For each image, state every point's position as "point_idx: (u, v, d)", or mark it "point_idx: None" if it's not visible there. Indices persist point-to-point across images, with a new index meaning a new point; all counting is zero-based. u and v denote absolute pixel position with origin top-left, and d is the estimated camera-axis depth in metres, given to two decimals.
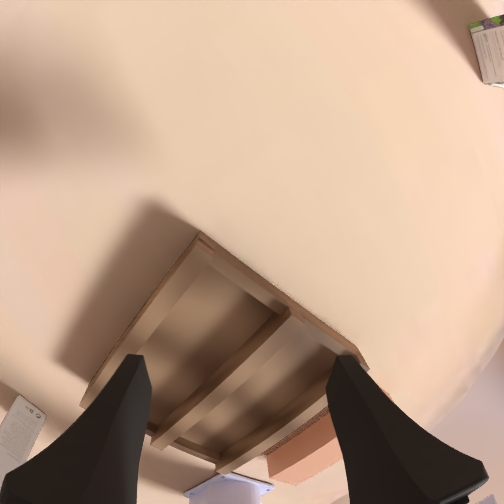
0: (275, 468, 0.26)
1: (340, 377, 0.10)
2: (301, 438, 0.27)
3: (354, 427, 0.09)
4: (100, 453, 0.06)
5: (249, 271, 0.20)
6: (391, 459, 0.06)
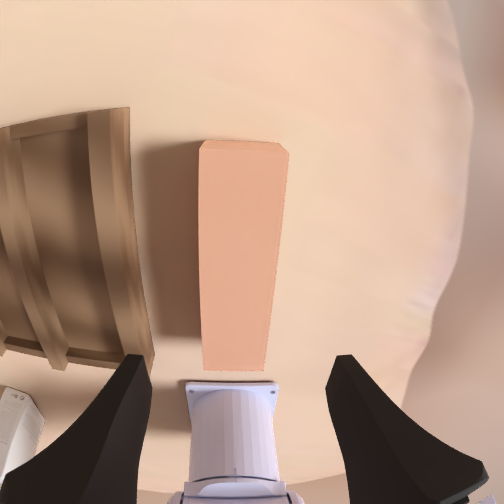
0: None
1: (340, 377, 0.10)
2: None
3: (354, 427, 0.09)
4: (100, 453, 0.06)
5: None
6: (391, 459, 0.06)
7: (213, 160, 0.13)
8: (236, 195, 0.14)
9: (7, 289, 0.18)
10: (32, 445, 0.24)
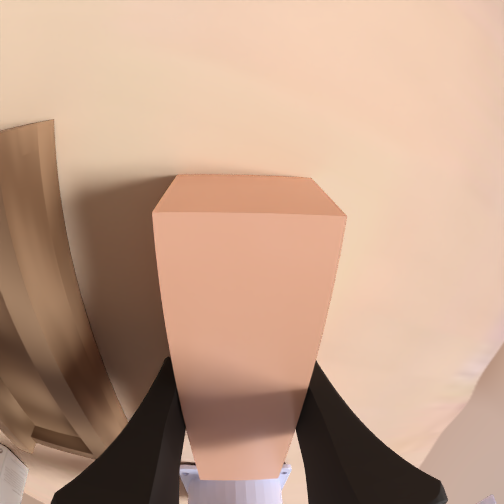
0: None
1: None
2: None
3: (311, 433, 0.09)
4: (157, 462, 0.06)
5: None
6: (339, 470, 0.06)
7: (184, 235, 0.06)
8: (237, 300, 0.07)
9: None
10: (17, 497, 0.17)
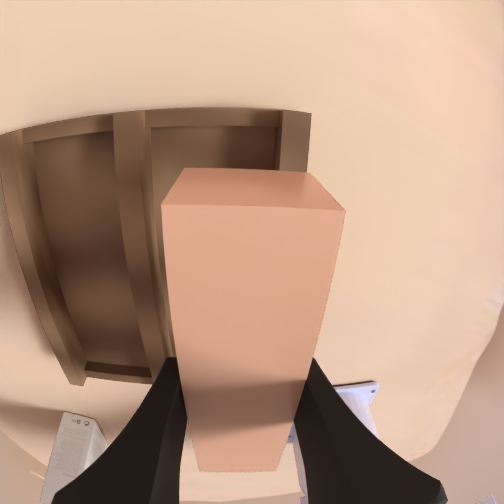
0: None
1: None
2: None
3: (310, 433, 0.09)
4: (157, 462, 0.06)
5: (74, 118, 0.13)
6: (338, 470, 0.06)
7: (191, 227, 0.07)
8: (241, 289, 0.07)
9: (100, 310, 0.18)
10: None
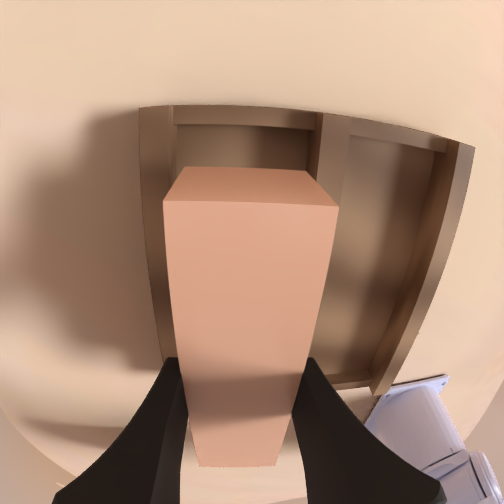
0: None
1: None
2: None
3: (310, 433, 0.09)
4: (158, 462, 0.06)
5: None
6: (338, 470, 0.06)
7: (192, 222, 0.07)
8: (238, 283, 0.08)
9: None
10: None
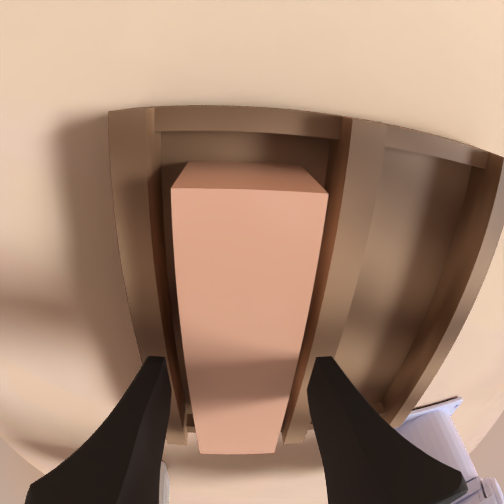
0: None
1: (319, 379, 0.10)
2: None
3: (331, 430, 0.09)
4: (130, 458, 0.06)
5: (242, 106, 0.10)
6: (364, 466, 0.06)
7: (196, 208, 0.08)
8: (238, 264, 0.09)
9: None
10: None
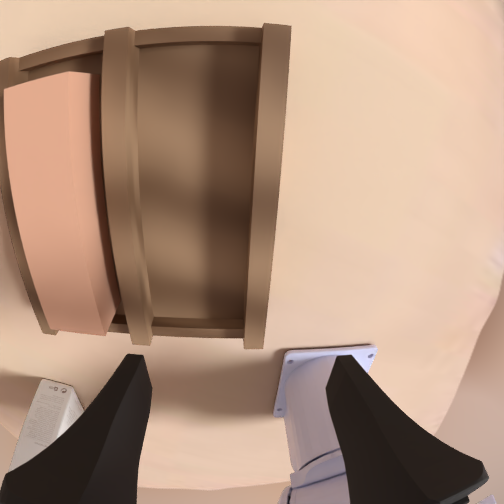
0: None
1: (340, 377, 0.10)
2: None
3: (354, 427, 0.09)
4: (100, 453, 0.06)
5: None
6: (391, 459, 0.06)
7: (12, 96, 0.10)
8: (30, 125, 0.10)
9: None
10: None
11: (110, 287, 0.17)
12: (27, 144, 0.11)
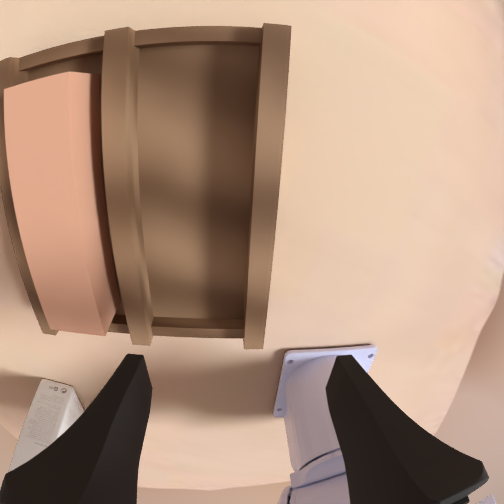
0: None
1: (340, 377, 0.10)
2: None
3: (354, 427, 0.09)
4: (100, 453, 0.06)
5: None
6: (391, 459, 0.06)
7: (12, 96, 0.10)
8: (30, 125, 0.10)
9: None
10: None
11: (110, 287, 0.17)
12: (27, 144, 0.11)
